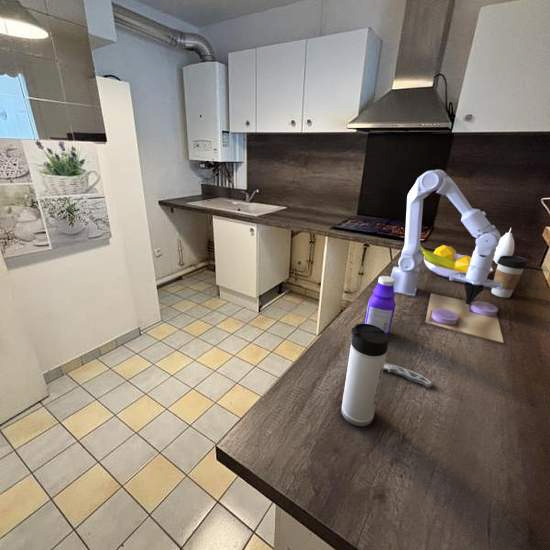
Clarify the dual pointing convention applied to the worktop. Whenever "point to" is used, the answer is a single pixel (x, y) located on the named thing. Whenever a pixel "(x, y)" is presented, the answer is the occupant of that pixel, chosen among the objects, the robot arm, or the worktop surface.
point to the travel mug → (364, 373)
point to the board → (465, 318)
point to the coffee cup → (508, 274)
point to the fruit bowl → (447, 261)
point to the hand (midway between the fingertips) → (467, 303)
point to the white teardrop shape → (504, 247)
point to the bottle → (382, 304)
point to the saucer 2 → (484, 308)
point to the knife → (408, 374)
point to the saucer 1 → (444, 316)
